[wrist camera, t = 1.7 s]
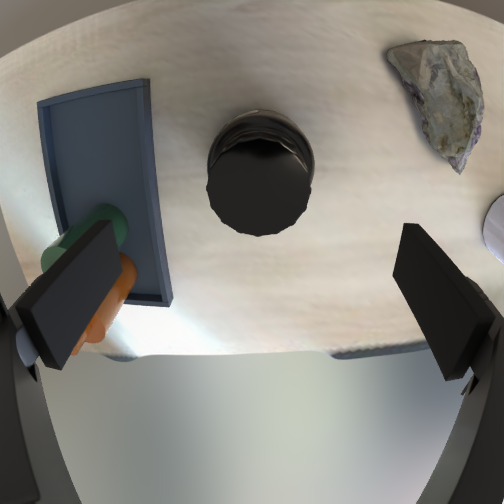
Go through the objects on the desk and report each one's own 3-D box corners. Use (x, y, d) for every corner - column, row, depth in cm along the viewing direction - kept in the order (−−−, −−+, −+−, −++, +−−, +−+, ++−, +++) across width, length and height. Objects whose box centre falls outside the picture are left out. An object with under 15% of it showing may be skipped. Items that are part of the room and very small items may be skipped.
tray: (46, 100, 28) (36, 102, 26) (149, 78, 27) (142, 78, 25) (85, 291, 41) (79, 300, 39) (173, 297, 40) (169, 307, 38)
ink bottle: (233, 94, 28) (212, 97, 17) (320, 122, 29) (349, 142, 18) (207, 184, 33) (177, 234, 22) (287, 208, 34) (296, 269, 23)
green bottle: (124, 202, 33) (58, 268, 21) (132, 246, 36) (78, 323, 24) (84, 204, 34) (13, 265, 21) (93, 245, 36) (33, 316, 24)
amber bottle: (133, 250, 36) (80, 328, 24) (141, 289, 39) (99, 370, 27) (94, 250, 37) (36, 321, 24) (104, 286, 39) (56, 361, 27)
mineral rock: (454, 167, 30) (506, 198, 21) (371, 150, 30) (410, 177, 21) (469, 60, 23) (527, 62, 15) (383, 31, 24) (428, 14, 15)
